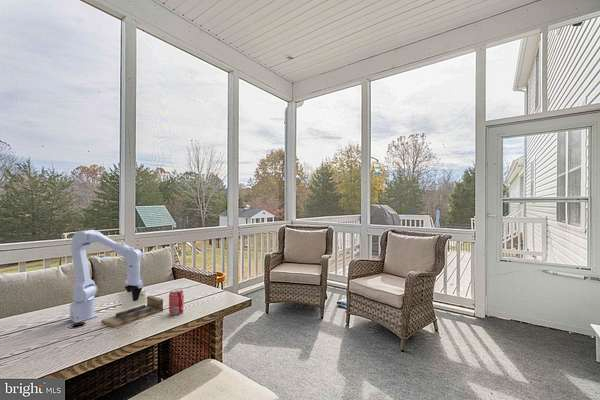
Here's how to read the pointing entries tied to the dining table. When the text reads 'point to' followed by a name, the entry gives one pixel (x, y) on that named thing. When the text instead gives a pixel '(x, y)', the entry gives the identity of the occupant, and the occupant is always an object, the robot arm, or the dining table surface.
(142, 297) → the door panel
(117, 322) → the board
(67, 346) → the dining table surface
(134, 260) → the robot arm
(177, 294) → the soda can
